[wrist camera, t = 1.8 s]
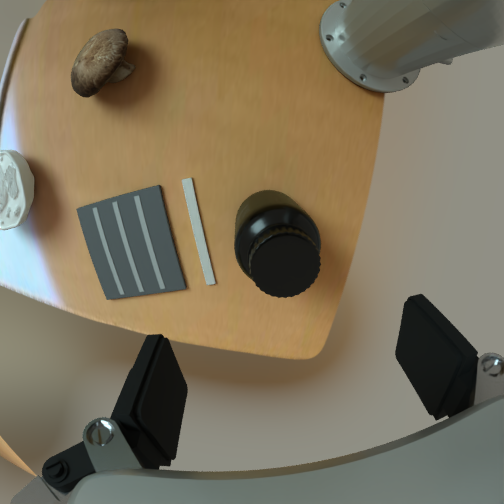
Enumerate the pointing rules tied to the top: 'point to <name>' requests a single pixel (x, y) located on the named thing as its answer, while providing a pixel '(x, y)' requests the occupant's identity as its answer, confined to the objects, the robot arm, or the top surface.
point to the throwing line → (198, 230)
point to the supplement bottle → (277, 244)
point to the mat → (132, 244)
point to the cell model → (14, 189)
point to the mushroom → (101, 62)
